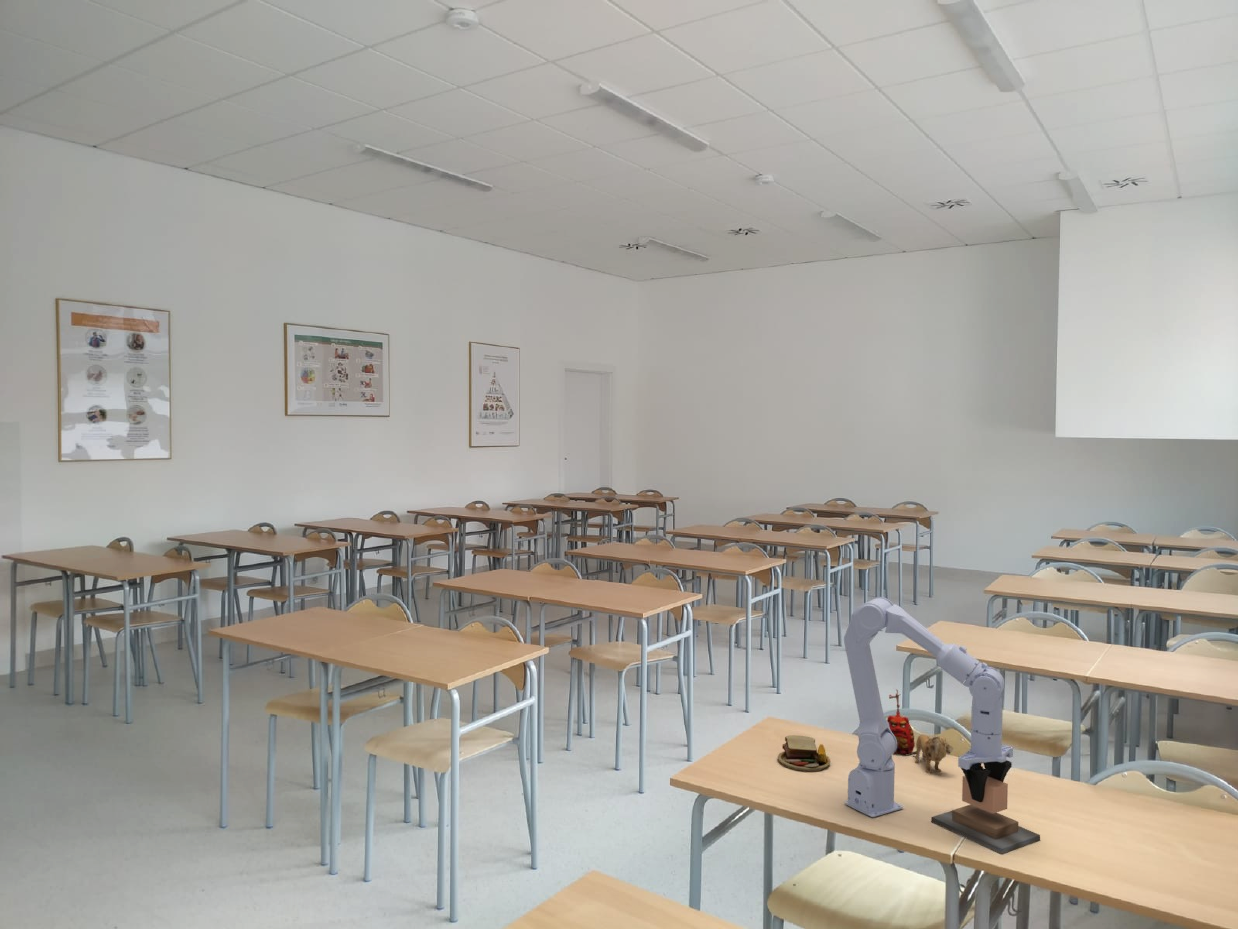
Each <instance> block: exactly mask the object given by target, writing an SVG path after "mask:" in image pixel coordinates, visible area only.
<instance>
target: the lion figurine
mask: <svg viewBox="0 0 1238 929" xmlns="http://www.w3.org/2000/svg"><path fill="white" fill-rule="evenodd" d="M946 740H947V739H946V737H944V736H935V737H932V738H930V737H929V736H928V735H926V734H923V733H922V734H920V735H919V736H918V737H917V739H916V743H915V744H916V747H915V748H916V751H912V754H911V755H915V760H914V763H915V764H920V762H921V760H920V754H921V753H920V752H922V756H921V757H922V759H923V760H925V766H926V767H925V773H927V774H930V773H932V769H931V768H932V767H931V761H932V762H934V766H933V768H934V771H935V772H936V773H940V772H941V771H942V769H941V768H939V765H940V762H942V761H943V760H942V759H945V758H946V757H947V755H948V756H949V755H951V754H952V752H953V750H954V746H952V745H950V744H949V743H948V742H947V741H946Z"/></svg>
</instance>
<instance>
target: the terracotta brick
mask: <svg viewBox="0 0 1238 929" xmlns="http://www.w3.org/2000/svg"><path fill="white" fill-rule="evenodd" d="M961 781H962V787H961V788H962V789H961V790H962V792H961V793H962V794H961V801H962V802H964V803H966V804H968V805H970V804H971V805H973V806H976V807H978V808H980V809H983V810H985V811H988V812H990V813H992V814H993V813H999V812H1002V811H1005V810H1008V797H1009V796H1008V794H1009V793H1008V789H1009V786H1008V785H1009V783H1006V782H1005V781H1003V782H1001V781H999V780H996V779H993V778H991V777H988V778H987V780H986V784H985V792H984V799H983V802H978V801H975V800H973V799H972V797H971V793H970V789H969V785H968V782H967V779H966V777H965V775H963V776H962V780H961Z"/></svg>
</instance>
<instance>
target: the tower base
mask: <svg viewBox="0 0 1238 929" xmlns="http://www.w3.org/2000/svg"><path fill="white" fill-rule="evenodd" d="M930 820H931V822H932V823H933V824H935V825H937V826H938V827H939V826H940V827H942V828H944V829H946V830H949V831H950V832H953V833H955V834H957V835H958V836H961V837H964V838H966V839H967V840H970V841H972V842H974V843H976V844H979V845H980V846H983V847H985V848H987V849H989V850H992V851H994V852H996V853H998V854H1000V855H1003V854H1006V853H1008V852H1011V851H1014V850H1017V849H1019V848H1022V847H1025V846H1028V845H1030V844H1033V843H1037V842H1039V841H1041V834H1039V833H1036V832H1035V831H1031V830H1029V829H1027V828H1024V827H1022V826H1020V825H1019V820H1018V821H1017V820H1016V819H1013V818H1010V817H1009V816H1007V815H1004V814H1001V813H999V812H997V813H993V814H992V813H990V812H988V811H985V810H983V809H980V808H978V807H976V806H973V805H971V804H968V805H964V806H961V807H958V808H955V809H952V810H950V811H946V812H943V813H939V814H937V815H933V816H931V819H930Z"/></svg>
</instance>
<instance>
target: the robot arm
mask: <svg viewBox="0 0 1238 929" xmlns="http://www.w3.org/2000/svg"><path fill="white" fill-rule="evenodd" d="M884 628H885V630H884V633H887V634H901V635H903V636H905V637H906V638H908V639H909V640H910V641H912V642H914V643H915V644H917V645H918V646H920V647H921V648H922V649H924V650H925V651H927V652H928V653H929V654H931V655H933V656H934V657H935V659H936V662H937V666H938V667H940V668H941V670H943V671H944V672H946V673H947V674H948V675H949V676H951V677H952V678H954V679H955V680H956V681H958V682H959V683H960V684H961V685H963V686H965V687H968V691H969V693H970V694H971V696H972V705H971V709H970V710H971V719H970V720H971V721H970V723H971V724H970V727H971V728H970V748H969V749H968V750H967V751H966V752H965V753H964V754H962V755H961V756H958V760H957V761H958V762H957V763H958V764H957V766H958V768H960V769H961V771H962V773H963V774H964V775H963V776H965V777H966V779H967V782H968V785H969V789H970V793H971V797H972V799H973V800H975V801H978V802H983V799H984V792H985V784H986V780H987V778H988V777H991V778H993V779H996V780H999V781H1001V782H1005V778H1006V776H1007V775H1008V772H1009V771H1010V770H1011V768H1012V766H1013V763H1012V761H1010V760H1008V759H1007V758H1014V748H1013V747H1012V746H1010V745H1006V744H1003V712H1004V711H1003V707H1002V706H1003V697H1002V694H1003V693H1002V692H1004V689H1005V679H1004V676H1003V675H1002V673H1000V672H999V670H998V669H997V668H996V667H993V666H988V663H986V662H984V661H983V662H981V661H980V660H978V659H977V658H975V657H974V656H972V654H970V653H969V652H967V651H968V648H967V647H965V646H964V645H963V644H962V645H960V646H959V645H957V644H956V643H950V644H949V643H946V642H943V641H942V640H941V639H940V638H939V637H938V636H936V635H935V634H933V632H931V631H930V630H929V629H927V628H926V627H925V626H924V625H923V624H921V623H920V622H919V621H918V620H916V619H915V618H914V617H912V616H911V615H910V614H909V613H908V612H906V610H904V609H903V608H902V607H901V606H900V605H898V604H896V603H895V604H893V602H892V601H891V600H890V599H888V598H886V597H884V596H877V597H876V596H875V597H873V598H872V599H870V600H869V601H867V602H864V603H862V604H861V605H859V606H858V607H857V608H856V609H855V610H854V611H853V612H852V613H851V615H850V620H849V624H848V626H847V629H846V630H845V633H844V634H845V635H844V636H843V643H844V647H845V653H846V657H847V663H848V669H849V673H850V678H851V683H852V688H853V695H854V699H855V704H856V708H857V714H858V718H859V723H858V725H859V726H858V731H857V738H858V744H857V747H856V748H857V749H856V754H857V758H858V760H859V761H858V762H859V763H858V765H857V766H856V767H855V768H854V769H852V770H851V771H850V772H849V774H848V778H847V800H846V801H844V805H846V806H848V807H850V808H853V809H854V810H857V811H858V812H861V813H862V814H864V815H867V816H868V817H871V818H875V817H879V816H882V815H886V814H889V813H893V812H895V811H900V810H902V809H904V806H903V805H902V804H900V803H897V802H895V768H896V766H895V765H896V764H895V761H894V760H893V755H894V754H896V753H895V751H896V749H897V740H896V738H895V736H894V734H893V733H892V732H891V730H890V727H889V723H888V721H887V720H888V719H886V717H885V715H884V710H883V704H882V700H881V694H880V689H879V684H878V680H877V674H876V670H875V669H876V668H875V665H874V659H873V655H872V650H871V645H870V644H871V643H872V641H873V640H874V638H875V637H876V636H877V635H878V634H879V632H880V631H881V630H883V629H884ZM982 764H983V766H982Z"/></svg>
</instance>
